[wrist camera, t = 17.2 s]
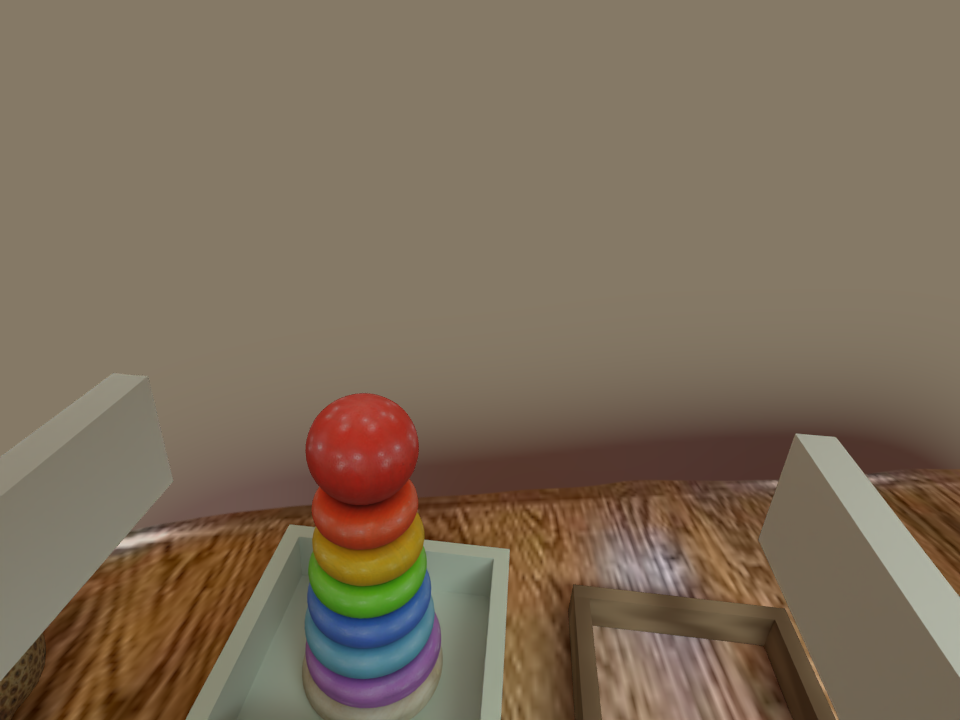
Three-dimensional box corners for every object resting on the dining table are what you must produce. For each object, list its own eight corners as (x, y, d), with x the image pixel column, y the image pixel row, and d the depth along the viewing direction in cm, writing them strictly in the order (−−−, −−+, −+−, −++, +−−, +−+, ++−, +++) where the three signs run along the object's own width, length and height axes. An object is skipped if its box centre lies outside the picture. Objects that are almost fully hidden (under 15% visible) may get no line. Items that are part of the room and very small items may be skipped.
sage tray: (503, 597, 42) (509, 549, 40) (489, 848, 28) (496, 796, 26) (294, 572, 42) (289, 524, 40) (183, 807, 29) (167, 752, 27)
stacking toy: (325, 611, 38) (308, 351, 30) (448, 622, 38) (465, 364, 30) (283, 734, 31) (244, 440, 23) (433, 748, 31) (450, 458, 23)
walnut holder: (773, 634, 40) (784, 608, 39) (880, 888, 28) (900, 861, 27) (568, 610, 41) (573, 584, 40) (582, 848, 29) (590, 821, 27)
